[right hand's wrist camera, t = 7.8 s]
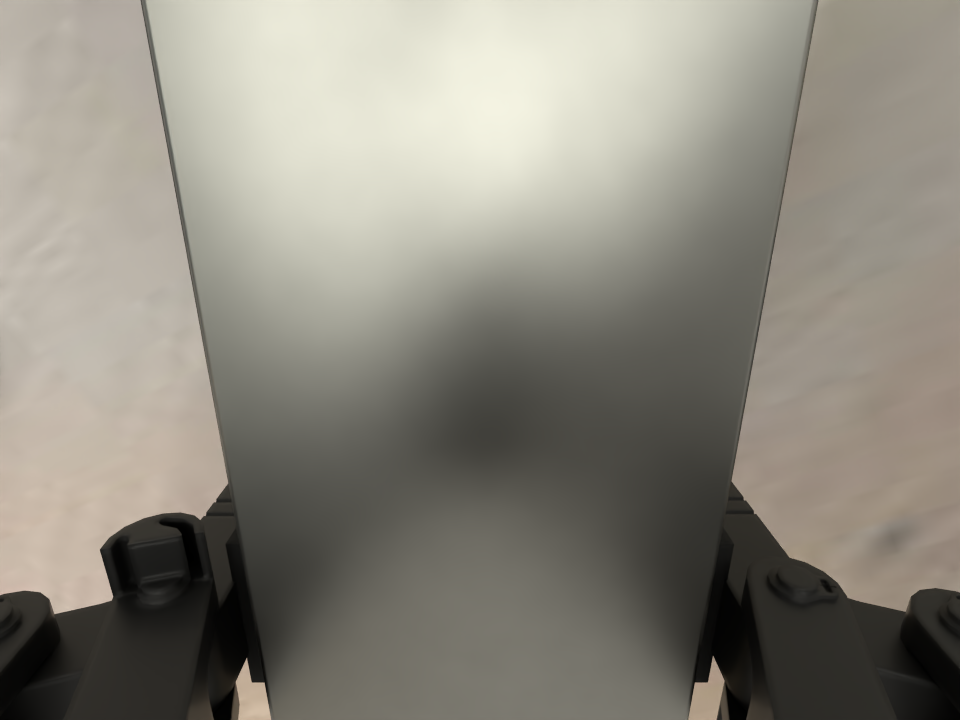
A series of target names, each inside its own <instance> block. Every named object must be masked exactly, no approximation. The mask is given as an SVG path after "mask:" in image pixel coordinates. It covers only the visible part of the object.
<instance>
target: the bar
mask: <svg viewBox="0 0 960 720" xmlns="http://www.w3.org/2000/svg"><path fill="white" fill-rule="evenodd" d="M141 5H142V10H143V16H144V21H145V27H146V32H147V38H148V43H149V49H150V54H151V60H152V65H153V71H154V76H155V82H156V87H157V93H158V98H159V104H160V109H161V115H162V120H163V126H164V131H165V137H166V142H167V148H168V153H169V159H170V164H171V170H172V175H173V181H174V186H175V192H176V197H177V203H178V208H179V214H180V219H181V225H182V230H183V236H184V241H185V247H186V252H187V258H188V263H189V269H190V274H191V280H192V285H193V291H194V296H195V302H196V307H197V313H198V318H199V324H200V329H201V335H202V340H203V346H204V351H205V357H206V362H207V368H208V373H209V379H210V384H211V390H212V395H213V401H214V406H215V412H216V417H217V423H218V428H219V434H220V439H221V445H222V450H223V456H224V461H225V467H226V472H227V478H228V483H229V489H230V494H231V500H232V505H233V511H234V516H235V522H236V527H237V533H238V538H239V544H240V549H241V555H242V560H243V566H244V571H245V577H246V582H247V588H248V594H249V599H250V605H251V610H252V616H253V621H254V627H255V632H256V638H257V643H258V649H259V654H260V660H261V665H262V671H263V676H264V682H265V687H266V693H267V698H268V704H269V709H270V715H271V720H688V717H689V711H690V706H691V700H692V695H693V689H694V684H695V678H696V673H697V667H698V662H699V656H700V651H701V645H702V640H703V634H704V629H705V623H706V618H707V612H708V607H709V601H710V596H711V590H712V585H713V579H714V573H715V568H716V562H717V557H718V551H719V546H720V540H721V535H722V529H723V524H724V518H725V513H726V507H727V502H728V496H729V491H730V485H731V480H732V474H733V469H734V463H735V458H736V452H737V447H738V441H739V435H740V430H741V424H742V419H743V413H744V408H745V402H746V397H747V391H748V386H749V380H750V375H751V369H752V364H753V358H754V353H755V347H756V342H757V336H758V331H759V325H760V320H761V314H762V309H763V303H764V297H765V292H766V286H767V281H768V275H769V270H770V264H771V259H772V253H773V248H774V242H775V237H776V231H777V226H778V220H779V215H780V209H781V204H782V198H783V193H784V187H785V182H786V176H787V171H788V165H789V159H790V154H791V148H792V143H793V137H794V132H795V126H796V121H797V115H798V110H799V104H800V99H801V93H802V88H803V82H804V77H805V71H806V66H807V60H808V55H809V49H810V44H811V38H812V33H813V27H814V21H815V16H816V10H817V5H818V0H141Z"/></svg>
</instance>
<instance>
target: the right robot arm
mask: <svg viewBox="0 0 960 720" xmlns="http://www.w3.org/2000/svg"><path fill="white" fill-rule="evenodd" d="M216 500H217V501H216V502H214V503H213V505H212V506H211V507H210V509H209V510H208V511H207V512H206V516H203V518H202V519H201V520H199V519H198V518H197V517H196V516H194V515H189V514H185V513H166V514H160V515H156V516H152V517H148V518H144V519H142V520H139V521H137V522H135V523H133V524H130V525H128V526H126V527H124V528H123V529H121V530H120V531H118V532H117V533H116V534H114V535H113V536H111V537H110V538H109V539H108V540H107V541H106V543H105V544H104V545H103V546H102V548H101V549H100V552H101V555H102V559H103V562H104V566H105V569H106V573H107V576H108V580H109V583H110V587H111V590H112V593H113V599H112V601H109V602H106V603H102V604H99V605H94V606H90V607H85V608H81V609H76V610H72V611H67V612H63V613H58V614H54V612H53V609H52V606H51V603H50V600H49V599H48V598H47V597H46V596H44V595H43V594H42V593H40V592H31V591H20V592H14V593H7V594H3V595H0V720H238V714H239V698H238V691H237V687H236V680H237V678H238V675H239V673H240V671H241V669H242V667H243V665H244V662H245V660H246V658H247V660H248V665H249V670H250V675H251V680H252V682H264V676H263V671H262V665H261V660H260V654H259V649H258V643H257V638H256V632H255V627H254V621H253V616H252V610H251V605H250V599H249V594H248V588H247V582H246V577H245V571H244V566H243V560H242V555H241V549H240V544H239V538H238V533H237V527H236V522H235V516H234V511H233V505H232V500H231V494H230V489H229V483H228V485H227V486H226V487H225V489H224V490H223V491H222V493H221V494H220V495H219V497H218V498H217V499H216ZM713 656H714V658H715V660H716V663H717V665H718V667H719V669H720V671H721V673H722V676H723V678H724V680H725V682H724V687H723V691H722V696H721V701H720V706H719V711H718V716H717V720H960V593H959V592H956V591H950V590H943V589H937V588H934V589H925V590H919V591H918V592H917V593H915V594H914V595H913V596H911V599H910V601H909V604H908V607H907V610H906V612H903V611H899V610H894V609H890V608H885V607H881V606H876V605H872V604H868V603H863V602H859V601H856V600H852V599H849V598H847V596H846V594H845V593H844V591H843V590H842V588H841V587H840V586H839V584H838V583H837V582H836V581H834V580H833V579H832V578H831V577H830V576H828V575H827V574H826V573H825V572H823V571H821V570H819V569H817V568H815V567H813V566H811V565H809V564H807V563H805V562H802V561H799V560H795V559H792V558H789V557H788V555H787V554H786V553H785V551H784V550H783V549H782V547H781V546H780V545H779V543H778V542H777V541H776V539H775V538H774V537H773V536H772V534H771V533H770V532H769V530H768V529H767V528H766V526H765V525H764V524H763V522H762V521H761V520H760V518H759V517H758V516H757V514H754V511H753V509H752V508H751V507H750V505H749V504H748V503H747V501H744V499H743V496H742V495H741V493H740V492H739V491H738V490H737V488H736V487H735V486H734V484H733V483H732V482H731V485H730V491H729V496H728V502H727V507H726V513H725V518H724V524H723V529H722V535H721V540H720V546H719V551H718V557H717V562H716V568H715V573H714V579H713V585H712V590H711V596H710V601H709V607H708V612H707V618H706V623H705V629H704V634H703V640H702V645H701V651H700V656H699V662H698V667H697V673H696V678H695V682H708V678H709V673H710V668H711V663H712V658H713Z"/></svg>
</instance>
